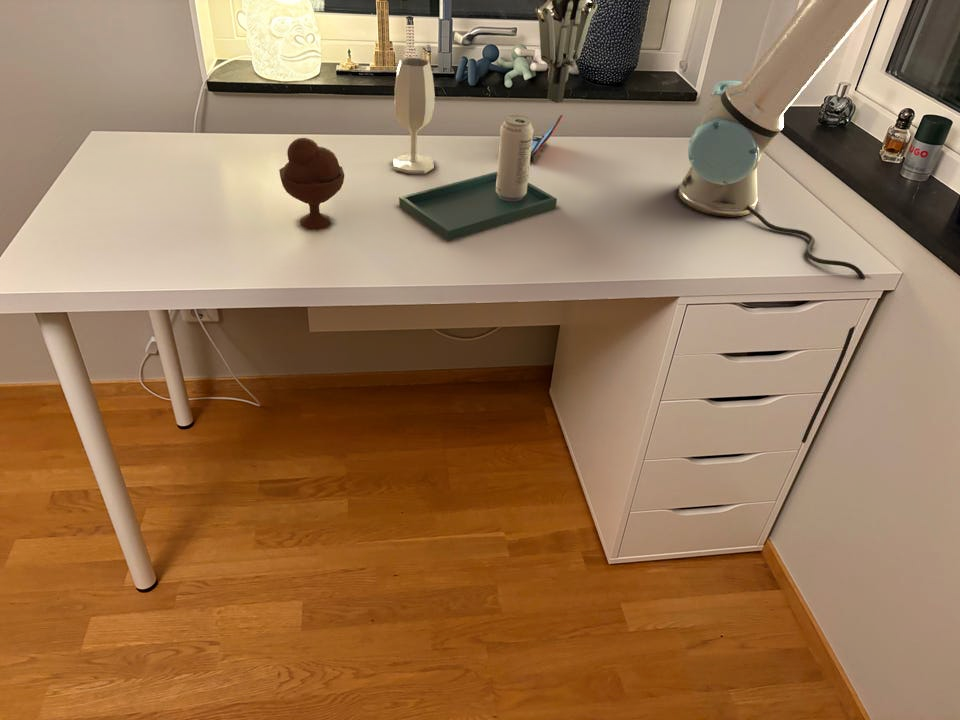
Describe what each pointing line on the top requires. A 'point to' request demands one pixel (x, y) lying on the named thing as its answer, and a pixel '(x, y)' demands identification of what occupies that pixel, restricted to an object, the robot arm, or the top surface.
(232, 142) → the top surface
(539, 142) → the handheld console
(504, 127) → the energy drink can
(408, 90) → the wineglass
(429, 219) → the tray
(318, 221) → the ice cream bowl
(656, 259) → the top surface
